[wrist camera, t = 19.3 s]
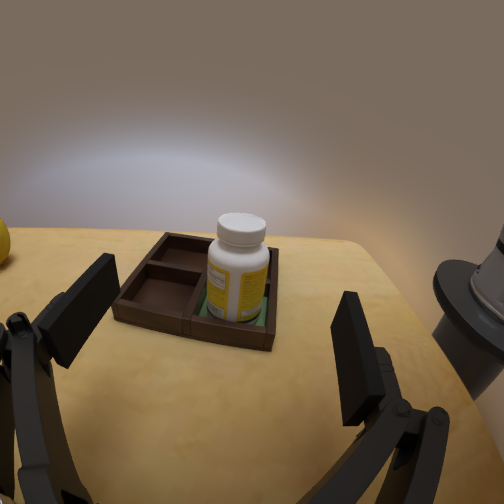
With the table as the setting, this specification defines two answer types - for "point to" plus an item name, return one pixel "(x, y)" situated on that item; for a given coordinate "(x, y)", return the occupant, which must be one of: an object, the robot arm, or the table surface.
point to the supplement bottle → (237, 269)
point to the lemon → (4, 242)
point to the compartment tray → (190, 296)
